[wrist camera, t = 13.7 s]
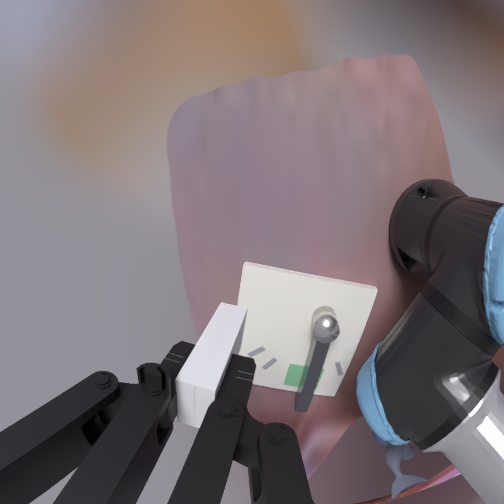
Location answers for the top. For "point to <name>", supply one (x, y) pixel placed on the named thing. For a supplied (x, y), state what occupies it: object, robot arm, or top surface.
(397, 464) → the seal
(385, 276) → the top surface
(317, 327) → the ball-tipped lever
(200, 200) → the top surface
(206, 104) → the top surface
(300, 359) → the dial board
